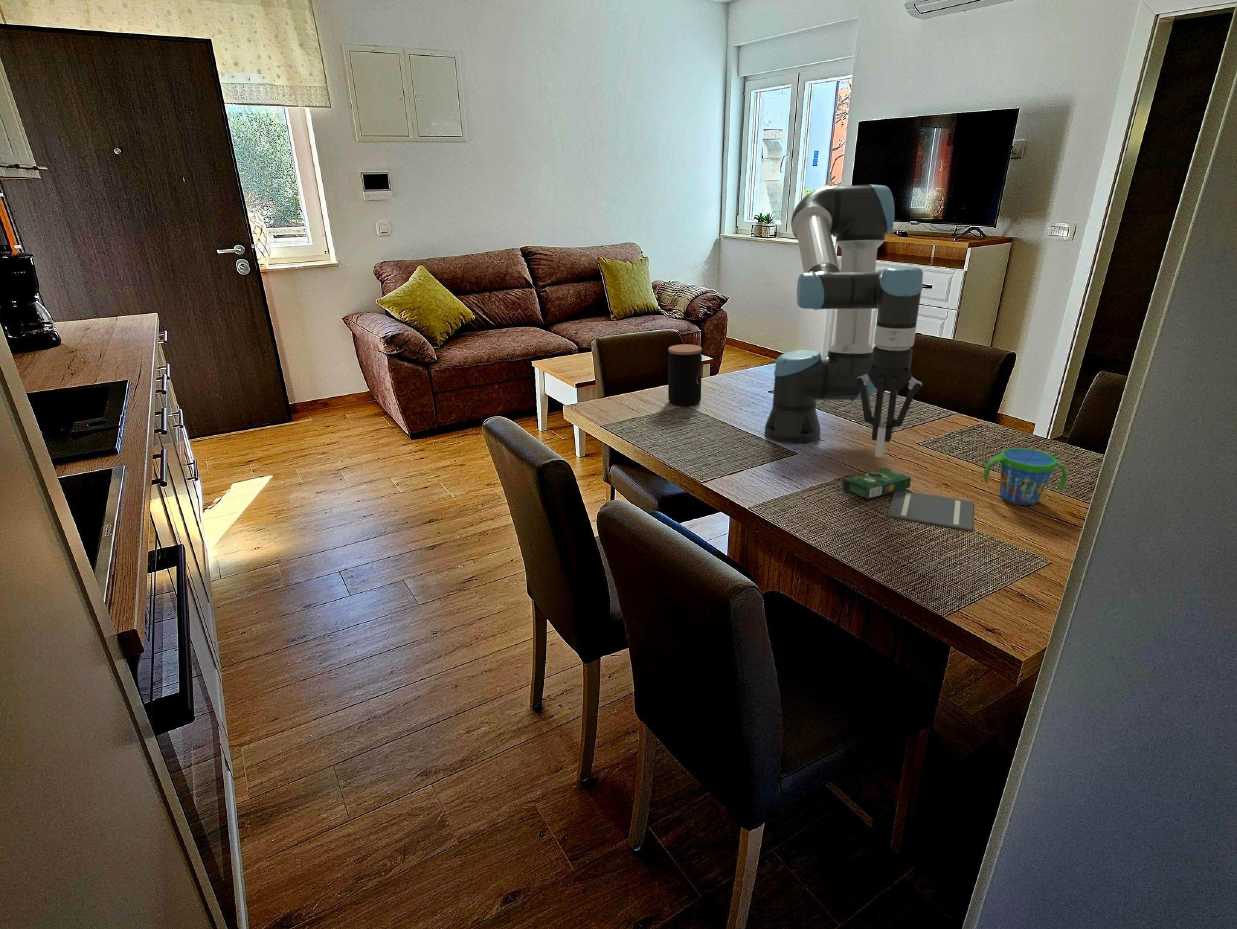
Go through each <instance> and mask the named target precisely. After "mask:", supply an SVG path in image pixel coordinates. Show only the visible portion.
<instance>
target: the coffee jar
mask: <svg viewBox="0 0 1237 929" xmlns="http://www.w3.org/2000/svg"><path fill="white" fill-rule="evenodd" d="M702 351H703V347H701V345H697V344H686V343H684V344H675V345H671V346H669V347H668V353H669V354H668V357H667V360H668V361H667V362H668V365H667V366H668V368H667V372H668V376H667V380H668V382H667V386H668V387H667V390H668V391H667V392H668V393H667V394H668V396H667V397H668V398H667V399H668V401H669V403H670V404H671V405H672V406H674V407H681V408H682V407H683V408H684V407H685V408H688V407H694V406H698V405H699V403H700V402H701V400H702V377H703V376H702V373H703V371H702V370H703V369H702V367H703V366H702V364H703V362H702V361H703V356H702Z"/></svg>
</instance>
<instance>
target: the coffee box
mask: <svg viewBox="0 0 1237 929" xmlns="http://www.w3.org/2000/svg"><path fill="white" fill-rule="evenodd" d="M911 481H912V478H911V477H910V476H908V475H905V474H903V473H901V472H898V471H895V470H892V469H890V468H888V467H882V468H878V469H874V470H871V471H868V472H864V473H859V474H856V475H855V474H854V475H852V476H848V477H847V476H846V477H844V478H843V479H842V489H843V490H845V491H848V492H850V493H853V494H854V495H857V496H860V497H862V498H865V499H872V498H875V497H879V496H883V495H887V494H890V493H894V492H895V491H899V490H903V491H904V490H907V489H909V488H910V487H911Z"/></svg>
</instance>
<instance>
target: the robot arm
mask: <svg viewBox="0 0 1237 929" xmlns="http://www.w3.org/2000/svg"><path fill="white" fill-rule="evenodd" d="M895 213H896V211H895V200H894V197H893V193H892V190H891V189H890V188H889V186H887V185H881V184H880V185H879V184H857V185H853V184H852V185H836V186H835V185H834V186H833V185H830V186H829V185H828V186H823V187H818V188H817V189H815V190H813V191H811V192H810V193H808V194H806V195H805V196H804V197H803V198H802V199H801V200H800V201H799V203H798V204H797V205H796V206H795V208H794V211H793V212H792V214H791V219H790V220H791V221H790V225H791V231H792V234H793V236H794V237H795V239H796V240H797V242H798V248H799V252H800V258H801V264H802V270H803V271H802V272H803V273H801V274H800V275H799V276H798V279H797V284H796V303H797V306H798V307H799V308H800V309H808V310H815V311H818V310H837V311H836V322H835V323H836V324H835V335H834V336H835V337H834V343H833V345H831V346H830V347H829V348H828V350H827V356H822V355H821V352H820V351H819V350H817V349H799V350H798V349H797V350H792V351H788V352H784V353H782V354H780V355H779V356H778V357H777V358H776V360H775V366H774V371H773V375H774V383H773V394H772V395H773V397H772V407H771V410H770V413H769V415H768V417H767V420H766V422H765V425H764V435H765V436H766V437H767V439H770V440H772V441H776V442H780V443H784V444H809V443H812V442H815V441H817V440H819V438H820V437H821V425H820V421H819V416H818V413H817V402H818V401H817V400H820V401H821V400H822V401H823V400H824V401H825V400H826V401H827V400H829V401H835V400H839V401H840V400H841V401H843V400H844V401H851V402H853V401H861V405H862V406H861V407H862V412H863V420H864V423H866V424H870V425H871V426H872V431H871V439H872V441H875V443H876V444H875V450H874V451H875V452H874V457H878V458H883V456H884V453H885V446H886V445H885V444H886V443H890V442H891V439H892V437H893V436H892V435H893V428H895V427H901V426H902V424H903V423H904V420H905V417H906V416H907V412H908V411H909V408H910V406H911V403H912V402H913V399H914V396H915V395H916V394H917V393H918V392H919V391H920V389H921V388H922V386H923V381H921V380H917V379H916V378H914V377H913V372H912V370H911V365H912V359H913V353H914V350H913V348H912V347H913V346H914V344H915V340H916V338H915V337H916V332H917V322H918V318H919V317H918V315H919V310H920V309H919V308H920V303H921V297H922V296H921V295H922V290H923V288H924V284H923V279H924V278H923V277H924V272H923V270H922V268H921V267H917V266H911V265H909V266H908V265H896V266H895V265H893V266H887V267H886V268H884V269H880V270H877V271H876V267H877V266H876V265H877V256H878V255H877V254H878V248H880V246H881V245H883V243H884V242H885V238H886V236H887V235H890V234H891V233H892V231H893V229H894V223H895V216H896V215H895ZM832 236H836V238H835V239H836V240H835V241H836V244H837V246H839V248H840V249H841V257H840V264H839V262H838V261H839V260H838V257H837V254H836V250H835V246H834V245H835V244H834V241H833V237H832ZM873 309H874V310H877V314H876V324H875V332H874V338H873V339H874V340H873V344H874V345H875V346H874V347H873V348H872V346H871V344H870V335H871V334H870V331H871V322H872V321H871V320H872V312H873V311H872V310H873ZM908 383H909V384H908ZM907 384H908V386H907V387H908V393H907V395H906V398H904V399H905V400H904V401H903V402H904V403H903V404H902V406H901V409H900V412H899V414H898V416H897V418H895V415H896V405H897V398H898V393H899V392H900V390H901V389H903V388H904V387H905V386H906V385H907ZM875 391H876V399H875V405H874V412H873V413H874V414H873V413H872V407H871V399H870V398H871V397H872V395H873V394H874V393H875ZM885 392H888V393H889V400H888V407H887V415H886V423H881V422H882V420H881V419H882V412H883V406H884V400H885V399H884V397H885Z"/></svg>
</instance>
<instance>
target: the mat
mask: <svg viewBox="0 0 1237 929" xmlns="http://www.w3.org/2000/svg"><path fill="white" fill-rule="evenodd" d="M892 495H893V496H892V499H891V502H890V504H889V508H888V513H887V518H893V519H899V520H904V521H905V520H906V521H910V522H917V523H923V524H927V525H934V526H941V527H946V528H951V529H957V530H964V531H969V532H973V526H974V525H973V524H974V523H973V519H974V518H973V516H974V501H973V500H966V499H960V498H954V497H948V496H940V495H934V494H928V493H921V492H913V491H907V490H904V489H903V490H899V491H895V492H893V494H892Z"/></svg>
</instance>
